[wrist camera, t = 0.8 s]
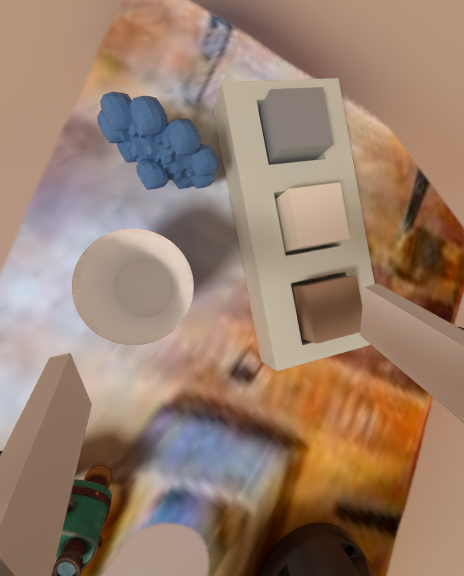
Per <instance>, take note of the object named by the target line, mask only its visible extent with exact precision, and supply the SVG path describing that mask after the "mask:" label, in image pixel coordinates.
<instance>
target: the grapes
mask: <svg viewBox="0 0 464 576" xmlns="http://www.w3.org/2000/svg"><path fill="white" fill-rule="evenodd" d="M100 103H101V109H102V111H100V113H99V115H98V117H97V118H98V124H99V126H100V128H101V130H102V132H103V134H104V136H105V137H106V139H107V140H108V141H109V143H117V147H118V149H119V151H120V153H121V154H122V156H123V158H124V159H125V160H126V162H138V165H137V173H138V175H139V177H140V179H141V181H142V183H143V184H144V186H145V187H146V189H147V190H149V189H157V188H161V187H163V186H165V185H166V184H167V182H168V180H172V179H173V181H174V183H175V184H176V186H177V187H178V189H183V188H189V187H191V186H193V185H194V187H195V188H204V187H207V186H210V185H211V184H212V183H213V182H214V172H215V171H216V170H217V165H218V161H217V158H216V155H215V153H214V151H213V150H212V148H211V147H210V146H209V144H200V136H199V133H198V130H197V129H196V127H195V126H194V124H193V123H192V121H191V120H189V119H176V120H173V121H171V122H170V124H168V123H167V116H166V114H165V111H164V109H163V107H162V106H161V104H160V103H159V101H158V100H157V99H156V98H155V97H151V96H140V97H137V98H134V99H133V100H131V99H130V97H129V96H128V94H125V93H119V92H110V93H108V94H105V95H103V97H102V99H101V101H100Z"/></svg>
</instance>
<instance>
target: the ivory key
mask: <svg viewBox="0 0 464 576" xmlns="http://www.w3.org/2000/svg"><path fill="white" fill-rule="evenodd" d="M275 202H276V207H277V213H278V218H279V223H280V229H281V234H282V240H283V245H284V250H285V252H289V251H295V250H301V249H306V248H312V247H317V246H323V245H328V244H332V243H336V242H339V241H343V240H347V239H350V235H349V229H348V223H347V218H346V212H345V207H344V201H343V195H342V190H341V184H340V182H339V183H331V184H323V185H315V186H307V187H299V188H291V189H288V190H286V191H285V192H284V193H283V194H281V195H280V196H279V197H278V198H276V199H275Z"/></svg>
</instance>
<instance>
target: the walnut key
mask: <svg viewBox="0 0 464 576" xmlns="http://www.w3.org/2000/svg"><path fill="white" fill-rule="evenodd" d="M291 288H292V293H293V299H294V304H295V309H296V315H297V320H298V325H299V331H300V336H301V339H304V340H307V341H310V342H313V343H316V344H318V343H322V342H325V341H329V340H333V339H337V338H340V337H344V336H348V335H352V334H355V333H359V332H360V330H361V318H362V302H361V296H360V291H359V285H358V279H357V276H345V277H334V278H330V279H325V280H320V281H315V282H311V283H306V284H301V285H296V286H292V287H291Z"/></svg>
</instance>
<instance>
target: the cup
mask: <svg viewBox="0 0 464 576" xmlns="http://www.w3.org/2000/svg"><path fill="white" fill-rule="evenodd" d="M193 292H194V281H193V275H192V271H191V268H190V265H189V263H188V261H187V259H186V258H185V256H184V255H183V253H182V252H181V251H180V250H179V248H178V247H177V246H176V245H174V244H173V243H172V242H171V241H170V240H168V239H167V238H165V237H163V236H161V235H159V234H157V233H154V232H151V231H148V230H142V229H123V230H118V231H115V232H111V233H109V234H106V235H104V236H103V237H101V238H99V239H98V240H96V241H95V242H94V243H92V244H91V245H90V246H89V247H88V248H87V249H86V250H85V252H84V253H83V254H82V256H81V257H80V259H79V261H78V263H77V265H76V267H75V270H74V274H73V279H72V295H73V300H74V304H75V306H76V309H77V311H78V313H79V315H80V317H81V318H82V320H83V321H84V322H85V323H86V325H87V326H88V327H89V328H90V329H91V330H93V331H94V332H95V333H97V334H98V335H100V336H101V337H103V338H105V339H107V340H110V341H112V342H116V343H119V344H126V345H140V344H146V343H150V342H154V341H156V340H159V339H161V338H163V337H165V336H166V335H168V334H169V333H170V332H172V331H173V330H174V329H175V328H176V327H177V326H178V325H179V324H180V323H181V322H182V320H183V319H184V318H185V316H186V314H187V313H188V310H189V308H190V306H191V303H192V299H193Z"/></svg>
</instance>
